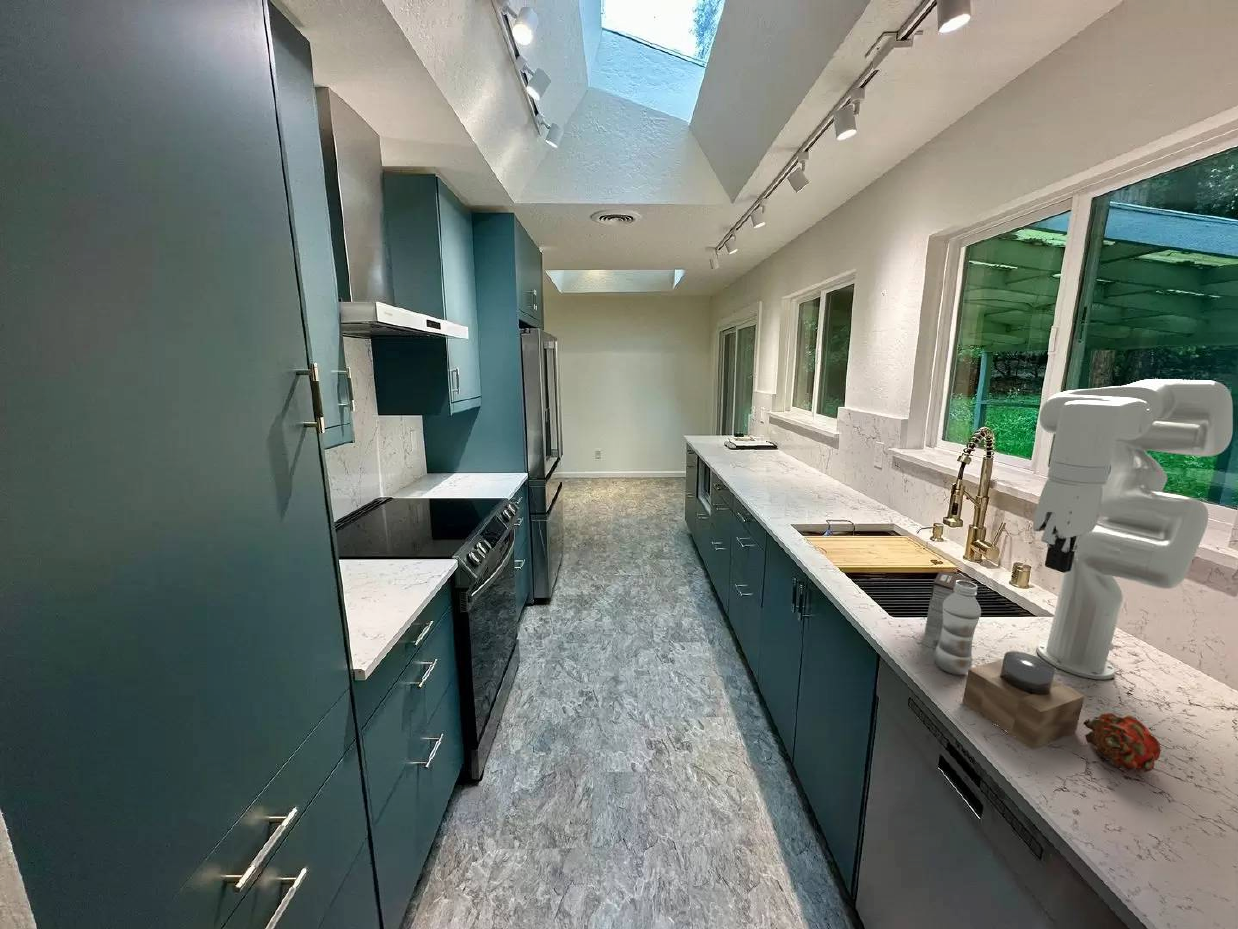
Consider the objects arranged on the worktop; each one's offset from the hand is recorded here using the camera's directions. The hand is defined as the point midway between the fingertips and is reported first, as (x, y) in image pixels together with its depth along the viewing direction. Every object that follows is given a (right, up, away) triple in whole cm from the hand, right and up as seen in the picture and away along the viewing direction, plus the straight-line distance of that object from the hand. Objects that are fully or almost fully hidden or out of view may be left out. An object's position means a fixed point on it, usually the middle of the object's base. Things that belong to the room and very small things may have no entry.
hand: (1057, 568), depth 86 cm
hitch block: (-6, -28, +2) cm, 29 cm away
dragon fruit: (+3, -31, -7) cm, 32 cm away
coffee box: (-4, -23, +26) cm, 35 cm away
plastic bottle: (-9, -25, +16) cm, 31 cm away
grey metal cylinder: (-6, -28, +2) cm, 28 cm away
